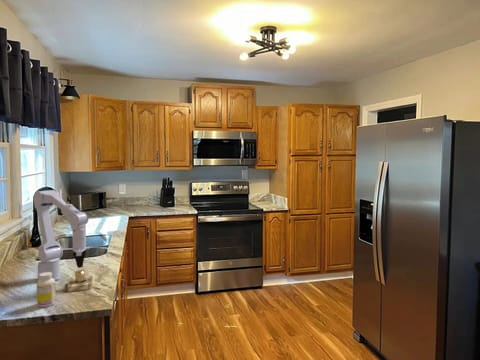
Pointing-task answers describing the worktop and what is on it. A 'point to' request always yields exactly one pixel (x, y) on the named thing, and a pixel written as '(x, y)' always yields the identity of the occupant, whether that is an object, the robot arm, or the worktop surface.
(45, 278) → the supplement bottle
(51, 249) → the robot arm
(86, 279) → the jig
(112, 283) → the worktop surface
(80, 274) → the brass round peg
